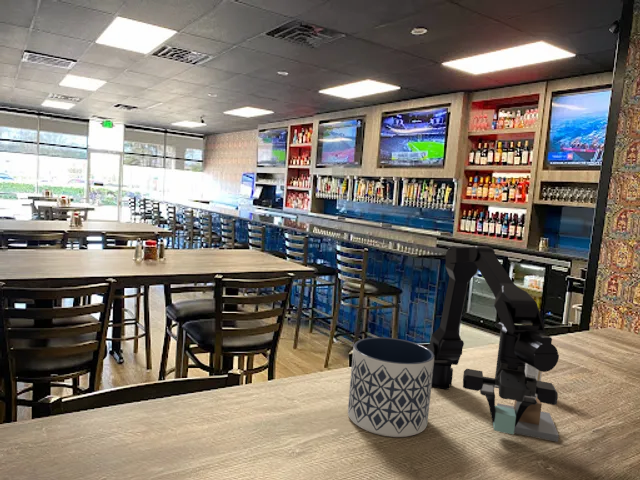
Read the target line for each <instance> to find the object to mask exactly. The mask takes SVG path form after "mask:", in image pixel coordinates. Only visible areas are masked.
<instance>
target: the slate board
mask: <svg viewBox="0 0 640 480" xmlns="http://www.w3.org/2000/svg"><path fill="white" fill-rule="evenodd" d="M496 406H501V407H506V408H511V409H514V405H510V404H509V405H508V404H502V403H498V402H497V403H496ZM514 434H516V435H517V434H518V435H523V436H527V437H531V438H537V439H542V440H546V441H551V442H552V441H553V442H557V443H558V442H559V436H560V434H559V432H558V430H557V428H556V425H555V423H554V420H553V418H552V416H551V413H550V412H545V411H541V414H540V421H539V425H536V424H531V423H526V422H521V421H518V423H517V425H516V427H515V428H514Z"/></svg>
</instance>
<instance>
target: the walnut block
mask: <svg viewBox="0 0 640 480" xmlns="http://www.w3.org/2000/svg"><path fill="white" fill-rule="evenodd" d="M536 401H537V404H536V405H533V404H532V405H530V406H528V407H527V409H526V410H525V411H524V413H523V414H522V416H521V418H520V420H519V421H521V422H526V423H531V424H536V425H539V421H540V414H541V412H542V404H543V403H541V402H540V401H539V399H538V398H537V397H536ZM516 404H517V401H516V400H514V404H513V406H514V410H515V409H516Z"/></svg>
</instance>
